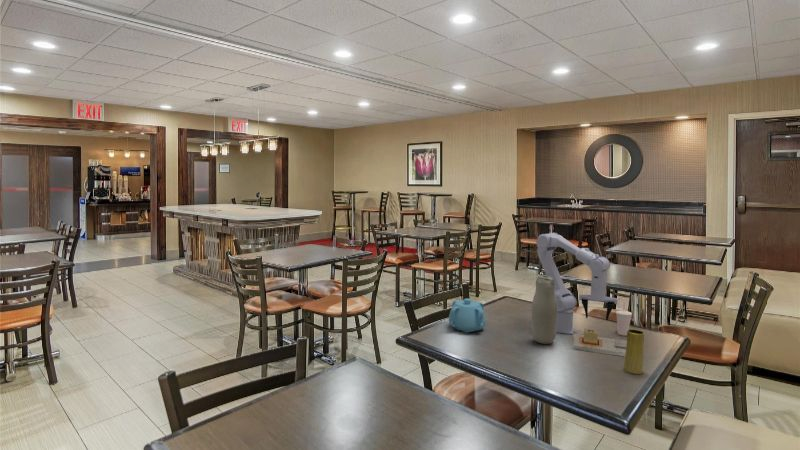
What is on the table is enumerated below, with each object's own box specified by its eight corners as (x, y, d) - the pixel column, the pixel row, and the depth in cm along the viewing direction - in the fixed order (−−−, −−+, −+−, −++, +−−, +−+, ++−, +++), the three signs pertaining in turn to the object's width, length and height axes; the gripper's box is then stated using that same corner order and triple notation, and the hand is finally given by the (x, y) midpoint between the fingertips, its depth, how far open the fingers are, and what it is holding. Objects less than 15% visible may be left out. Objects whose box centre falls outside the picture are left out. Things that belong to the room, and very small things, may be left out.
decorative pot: (487, 325, 206) (488, 296, 205) (483, 336, 191) (484, 305, 190) (452, 321, 211) (453, 293, 210) (445, 332, 196) (446, 302, 195)
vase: (620, 367, 161) (622, 328, 160) (636, 366, 162) (638, 328, 160) (630, 374, 155) (632, 334, 154) (646, 374, 156) (649, 334, 154)
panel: (573, 349, 178) (573, 345, 178) (574, 337, 191) (574, 333, 191) (642, 359, 169) (643, 355, 169) (639, 345, 182) (639, 342, 182)
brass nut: (583, 346, 181) (584, 332, 180) (583, 342, 186) (584, 328, 185) (596, 348, 179) (597, 333, 178) (596, 344, 184) (597, 329, 183)
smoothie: (627, 331, 199) (629, 301, 197) (633, 337, 192) (635, 305, 191) (612, 331, 199) (614, 300, 198) (617, 336, 193) (619, 304, 191)
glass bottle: (556, 340, 187) (559, 274, 184) (554, 348, 178) (557, 279, 175) (532, 336, 191) (535, 272, 188) (528, 344, 182) (531, 277, 179)
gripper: (579, 286, 185) (577, 318, 186) (618, 290, 179) (616, 323, 181) (579, 283, 191) (578, 314, 193) (617, 286, 186) (615, 318, 187)
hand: (596, 318), depth 187 cm, fingers open, 7 cm apart
